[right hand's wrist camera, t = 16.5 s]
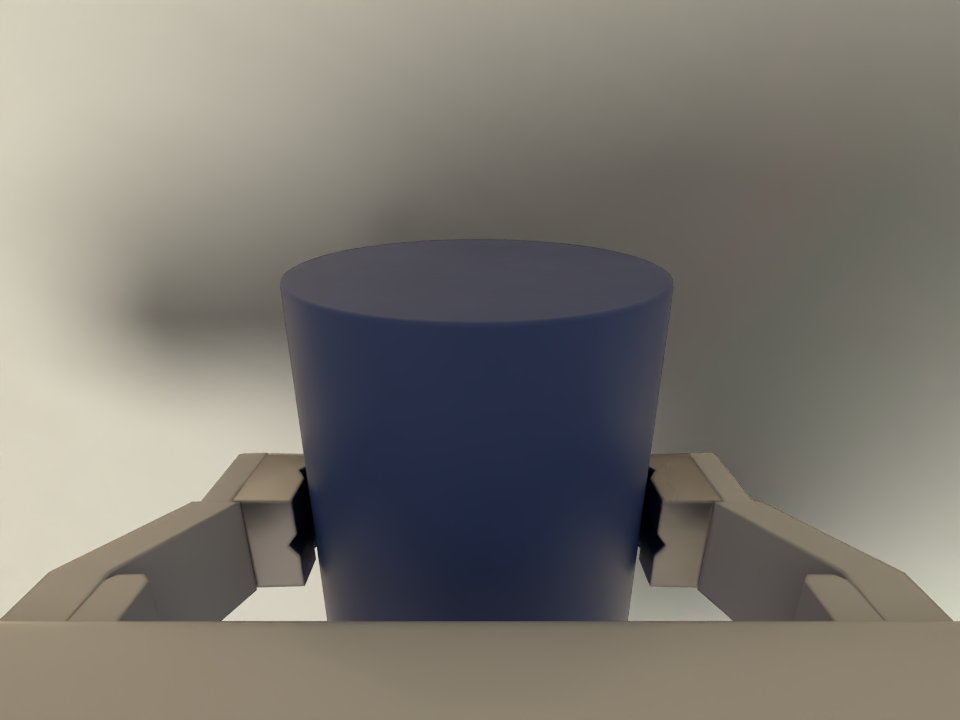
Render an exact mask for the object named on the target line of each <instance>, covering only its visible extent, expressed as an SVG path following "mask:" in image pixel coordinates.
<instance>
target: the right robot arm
mask: <svg viewBox="0 0 960 720" xmlns="http://www.w3.org/2000/svg"><path fill="white" fill-rule="evenodd" d="M638 546H639V547H640V556H639V560H640V563H641V565H642V567H643V570H644V572H645V575H646V577H647V580H648V582H649V585H650V586H666V587H698V590H699V591H700V592H701V593H702V594H703V595H704V596H706V597H707V598H708V599H709V600H710V601H711V602H712V603H714V604H715V605H716V606H717V607H718V608H719V609H720V610H722V611H723V612H724V613H725V614H726V615H727V616H728V617H730V618H731V619H732V620H733V621H221V620H223V619H224V618H225V617H226V616H227V615H228V614H230V613H231V612H232V611H233V610H234V609H235V608H236V607H238V606H239V605H240V604H241V603H242V602H243V601H245V600H246V599H247V598H248V597H249V596H250V595H251V594H253V593H254V592H255V591H256V590H257V588H256V587H287V586H305V584H306V582H307V579H308V577H309V574H310V572H311V570H312V567H313V565H314V562H315V560H316V557H315V549H314V548H315V547H317V544H316V537H315V530H314V523H313V516H312V508H311V501H310V494H309V487H308V480H307V473H306V466H305V459H304V454H286V453H270V454H268V453H244V454H239V455H238V457H237V458H236V459H235V460H234V461H233V463H232V464H231V465H230V466H229V468H228V469H227V470H226V471H225V473H224V474H223V475H222V476H221V477H220V479H219V480H218V481H217V482H216V484H215V485H214V486H213V487H212V489H211V490H210V491H209V492H208V493H207V495H206V496H205V497H204V498H203V500H202V501H201V502H191V503H189V504H187V505H185V506H183V507H181V508H179V509H177V510H175V511H173V512H170V513H168V514H166V515H164V516H162V517H160V518H158V519H156V520H154V521H152V522H150V523H148V524H146V525H144V526H142V527H140V528H138V529H136V530H134V531H132V532H130V533H128V534H126V535H124V536H122V537H120V538H118V539H116V540H114V541H111V542H109V543H107V544H105V545H103V546H101V547H99V548H97V549H95V550H93V551H91V552H89V553H87V554H85V555H83V556H81V557H79V558H77V559H75V560H73V561H71V562H69V563H67V564H65V565H63V566H61V567H59V568H57V569H55V570H52V571H50V572H49V573H48V574H47V575H46V576H45V577H44V578H42V579H41V580H40V581H39V582H38V583H37V584H36V585H35V586H34V587H33V588H32V589H31V590H30V591H29V592H28V593H27V594H26V595H25V596H24V597H23V598H22V599H21V600H20V601H19V602H18V603H17V604H16V605H15V606H13V607H12V608H11V609H10V610H9V611H8V612H7V613H6V614H5V615H4V616H3V617H2V618H1V619H0V720H960V621H953V620H952V619H951V618H950V617H949V616H948V615H947V614H946V613H945V612H944V611H943V610H942V609H941V608H940V607H939V606H938V605H937V604H936V603H935V602H934V601H933V600H932V599H931V598H930V597H929V596H928V595H927V594H926V593H925V592H924V591H923V590H922V589H921V588H920V587H919V586H918V585H917V584H916V583H915V582H914V581H913V580H911V579H910V578H909V577H908V576H907V575H906V574H905V573H904V572H902V571H900V570H898V569H896V568H894V567H892V566H890V565H888V564H886V563H884V562H882V561H880V560H878V559H876V558H874V557H872V556H870V555H868V554H866V553H864V552H862V551H860V550H858V549H856V548H854V547H852V546H850V545H848V544H846V543H844V542H842V541H840V540H838V539H836V538H834V537H832V536H830V535H828V534H826V533H824V532H822V531H820V530H818V529H816V528H814V527H812V526H809V525H807V524H805V523H803V522H801V521H799V520H797V519H795V518H793V517H791V516H789V515H787V514H785V513H783V512H781V511H779V510H777V509H775V508H773V507H771V506H769V505H767V504H765V503H763V502H753V501H752V499H751V498H750V497H749V496H748V494H747V493H746V492H745V491H744V489H743V488H742V487H741V486H740V484H739V483H738V482H737V481H736V479H735V478H734V477H733V476H732V474H731V473H730V472H729V471H728V469H727V468H726V467H725V466H724V464H723V463H722V462H721V461H720V459H719V458H718V457H717V456H716V455H715V454H713V453H688V454H650V461H649V468H648V475H647V483H646V490H645V497H644V505H643V512H642V519H641V526H640V534H639V541H638Z"/></svg>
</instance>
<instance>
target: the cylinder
mask: <svg viewBox="0 0 960 720" xmlns="http://www.w3.org/2000/svg"><path fill="white" fill-rule="evenodd" d="M280 289H281V296H282V303H283V310H284V318H285V325H286V332H287V339H288V346H289V353H290V360H291V367H292V374H293V381H294V388H295V395H296V402H297V409H298V417H299V424H300V431H301V438H302V445H303V452H304V459H305V466H306V473H307V480H308V487H309V494H310V501H311V508H312V516H313V523H314V530H315V537H316V544H317V551H318V558H319V565H320V572H321V579H322V586H323V593H324V600H325V608H326V615H327V621H628V614H629V607H630V599H631V592H632V585H633V578H634V570H635V563H636V556H637V548H638V541H639V534H640V526H641V519H642V512H643V505H644V497H645V490H646V483H647V475H648V468H649V461H650V453H651V446H652V439H653V432H654V424H655V417H656V410H657V402H658V395H659V388H660V380H661V373H662V366H663V358H664V351H665V344H666V337H667V329H668V322H669V315H670V307H671V300H672V293H673V280H672V278H671V276H670V275H669V273H668V272H666V271H665V270H664V269H663V268H661V267H659V266H657V265H655V264H653V263H651V262H648V261H646V260H643V259H640V258H637V257H634V256H630V255H627V254H623V253H619V252H614V251H609V250H604V249H599V248H592V247H586V246H579V245H571V244H561V243H551V242H538V241H522V240H489V239H466V240H434V241H417V242H404V243H394V244H385V245H377V246H369V247H363V248H356V249H351V250H346V251H341V252H336V253H332V254H328V255H324V256H321V257H318V258H314V259H312V260H309V261H306V262H304V263H301V264H299V265H297V266H295V267H293V268H292V269H290V270H289V271H288V272H286V273H285V274H284V276H283V277H282V279H281V284H280Z"/></svg>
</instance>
